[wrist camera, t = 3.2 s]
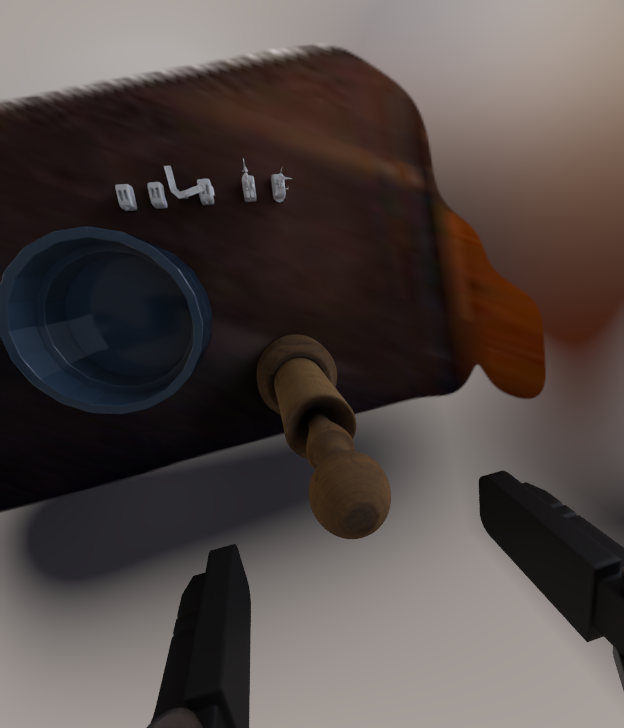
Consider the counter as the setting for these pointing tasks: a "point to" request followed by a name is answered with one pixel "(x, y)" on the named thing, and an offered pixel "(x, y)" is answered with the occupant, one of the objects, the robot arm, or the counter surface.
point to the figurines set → (195, 191)
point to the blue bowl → (103, 319)
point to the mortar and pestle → (323, 436)
